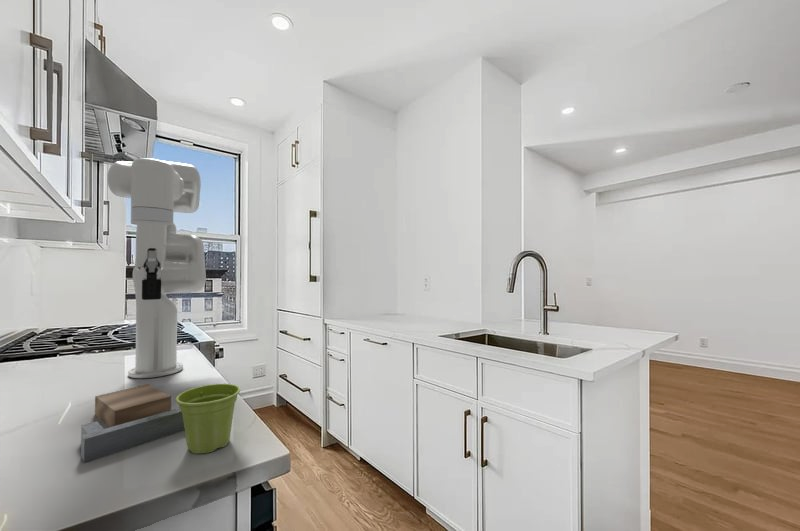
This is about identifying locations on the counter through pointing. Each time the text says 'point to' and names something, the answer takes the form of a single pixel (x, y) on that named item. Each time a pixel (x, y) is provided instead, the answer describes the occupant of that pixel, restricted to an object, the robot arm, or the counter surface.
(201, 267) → the robot arm
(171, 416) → the stop bracket
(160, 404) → the walnut slab
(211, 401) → the plant pot
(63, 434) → the counter surface
